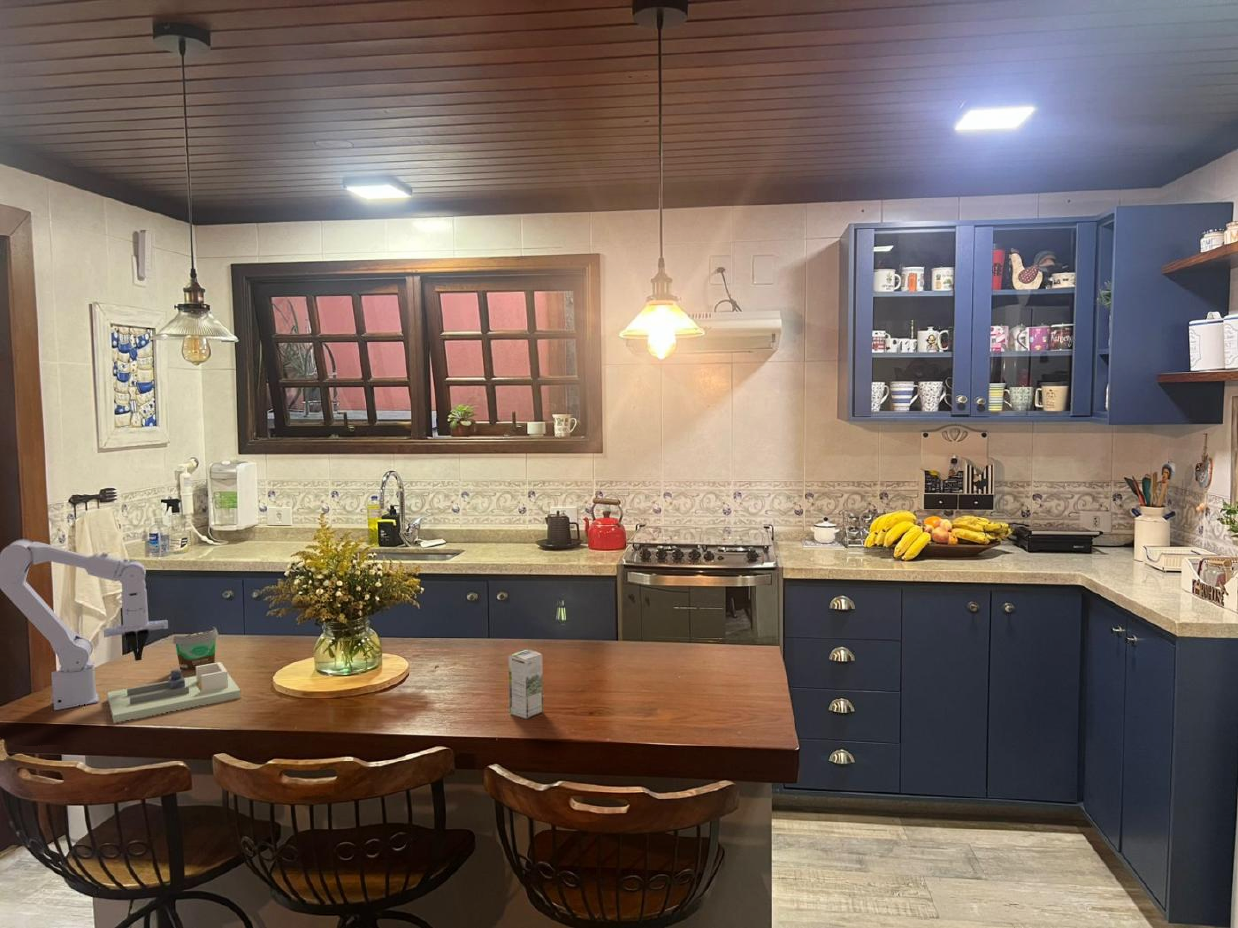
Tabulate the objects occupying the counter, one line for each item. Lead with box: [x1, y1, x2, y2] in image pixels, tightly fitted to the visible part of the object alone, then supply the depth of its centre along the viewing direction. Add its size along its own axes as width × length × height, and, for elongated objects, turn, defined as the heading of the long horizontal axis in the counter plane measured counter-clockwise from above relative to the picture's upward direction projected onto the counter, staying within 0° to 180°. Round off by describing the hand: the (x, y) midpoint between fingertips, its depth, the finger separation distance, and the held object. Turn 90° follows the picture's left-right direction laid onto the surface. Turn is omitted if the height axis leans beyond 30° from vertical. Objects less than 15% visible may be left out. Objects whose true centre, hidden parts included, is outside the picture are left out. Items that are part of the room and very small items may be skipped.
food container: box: [172, 626, 219, 671], centre depth 243 cm, size 12×6×10 cm, turn 143°
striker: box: [167, 668, 185, 690], centre depth 217 cm, size 3×6×5 cm, turn 35°
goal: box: [195, 661, 229, 691], centre depth 222 cm, size 6×10×4 cm, turn 34°
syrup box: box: [508, 649, 544, 720], centre depth 201 cm, size 6×6×14 cm
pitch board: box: [107, 671, 242, 724], centre depth 217 cm, size 28×20×4 cm
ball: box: [198, 681, 202, 691], centre depth 221 cm, size 4×4×4 cm
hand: (138, 659), depth 222 cm, fingers closed
